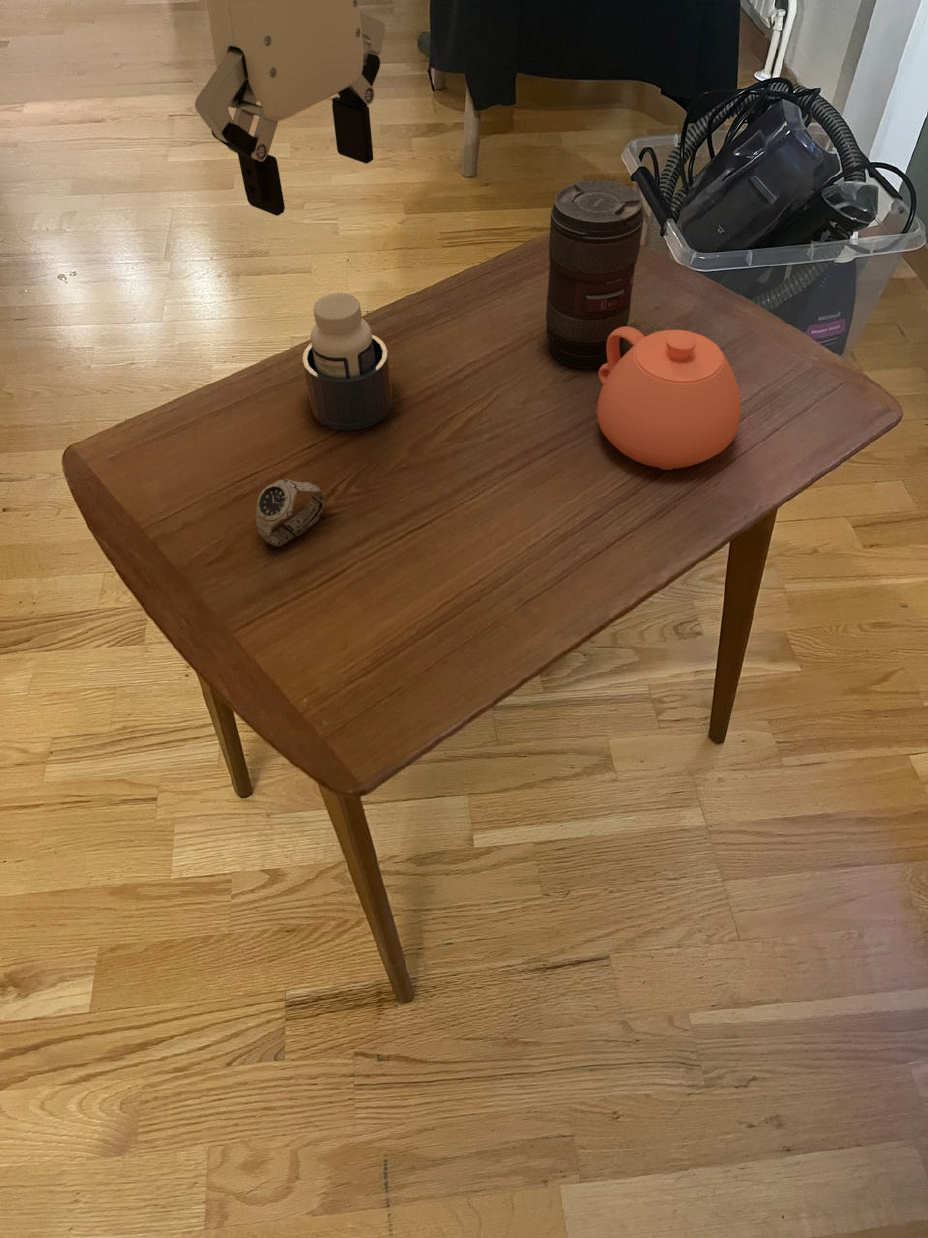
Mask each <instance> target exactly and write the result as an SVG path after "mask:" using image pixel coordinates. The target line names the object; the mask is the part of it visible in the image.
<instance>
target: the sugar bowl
mask: <svg viewBox="0 0 928 1238" xmlns="http://www.w3.org/2000/svg"><path fill="white" fill-rule="evenodd" d="M620 337H621V338H624V339H623V340H626V341H627V342H629V343H630V344H631V345H632V347H630V349H629V350H628V351H627V352H626V353H625V354H623V355H622V357H621V350H620V345H619V341H620ZM606 350H607V360H608V363H606V364H603V365H602V366H600V368H599V370H598V373H597V375H598V380H599V381H600V383H601V384H602V388H601V389H600V393H599V396H598V400H597V405H596V419H597V422H598V425H599V428H600V430H601V433H602V434H603V436H605V438H606V439H607V440H608V441H609V442H610V444H612V445H613V447H615V448H616V449H617V450H618V451H619V452H621V453H622V454H624V456H626V457H628V458H629V459H631V460H633V461H635V462H638V463H640V464H642V465H646V466H649V467H653V468H659V469H661V470H663V471H664V470H665V471H669V470H673V469H680V468H681V469H682V468H686V467H691V466H695V465H697V464H701V463H703V462H706V461H707V460H709V459H712V458H714V457H715V456H716V455H718V454H720V453H721V452H723V451H724V450H725V449H726V448H727V447H728V446H729V445H730V444H731V443H732V442H733V440H734V439H735V437H736V436H737V433H738V431H739V426H740V423H741V414H742V411H741V410H742V405H741V394H740V389H739V385H738V381H737V379H736V376H735V374H734V372H733V370H732V367H731V365H730V363H729V361H728V359H727V357H726V356H725V353H723V351H722V349H721V348H720V347H719V346H718V345H717V343H715V342H714V341H712V340H711V339H709V338H708V337H706V336H704V335H702V334H699V333H696V332H693V331H691V330H685V329H684V330H683V329H665V330H660V331H656V332H652V333H650V334H648V335H646V336H645V335H644V334H643V333H642V332H641V331H640V330H638V329H637V328H635V327H632V326H628V325H627V326H624V327H620V328H617V329H615V330H614V331H613V332H612V333H611V334H610V335H609V337H608V340H607V347H606Z"/></svg>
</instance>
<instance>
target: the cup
mask: <svg viewBox="0 0 928 1238" xmlns="http://www.w3.org/2000/svg"><path fill="white" fill-rule="evenodd" d="M372 337H373V345H374V352H375V360H376V367H375V368H373V369H372V370H371V371H369V372H367V373H365V374H362V375H360V376H356V377H351V378H331V377H326V376H323V375H321V374H319V373H317V371H316V366H315V361H314V355H313V350H312V344H311V342H310V343H309V344H307V346H306V348H304V350H303V353H302V357H301V362H302V368H303V373H304V378H305V385H306V388H307V393H308V400H309V404H310V409H311V413H312V415H313V417H314V418H315V419H316V420H317V421H318V422H319V423H320V424H321V425H322V426H325V427H327V428H329V429H332V430H337V431H343V432H351V431H359V430H365V429H368V428H371V427H373V426H375V425H377V424H379V423H380V422H382V421H383V420H384V419H385V418H386V417H387V416H388V415H389V414H390V412H391V410H392V407H393V405H394V404H393V403H394V401H393V387H392V378H391V367H390V357H389V349H388V347H387V346H386V343H385V342H384V341H383V340H382V339H380V338H379V337H378V336H377V335H375V334H372Z"/></svg>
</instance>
